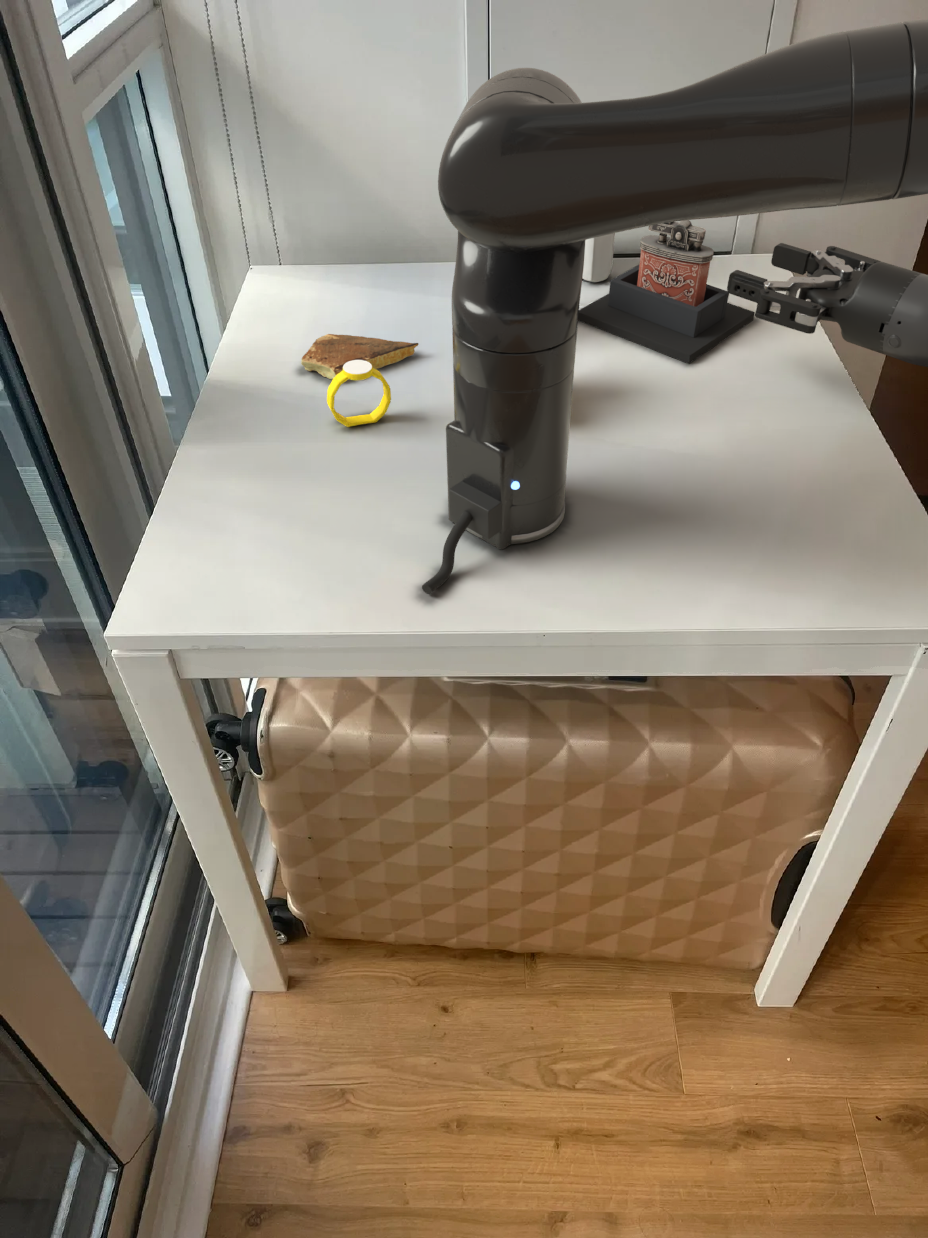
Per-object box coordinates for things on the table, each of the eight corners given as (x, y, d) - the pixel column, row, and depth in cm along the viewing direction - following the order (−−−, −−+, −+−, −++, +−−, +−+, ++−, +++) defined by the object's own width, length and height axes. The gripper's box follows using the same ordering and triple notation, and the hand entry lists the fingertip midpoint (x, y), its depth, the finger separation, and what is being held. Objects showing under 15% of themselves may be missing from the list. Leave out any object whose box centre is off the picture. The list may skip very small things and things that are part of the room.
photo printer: (532, 259, 118) (536, 154, 109) (557, 250, 120) (563, 146, 111) (591, 287, 112) (600, 178, 104) (616, 276, 114) (627, 169, 105)
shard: (419, 355, 101) (418, 340, 100) (397, 391, 96) (396, 376, 94) (324, 344, 103) (322, 328, 102) (298, 379, 98) (295, 363, 97)
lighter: (707, 314, 105) (723, 223, 98) (695, 326, 103) (710, 234, 96) (640, 297, 108) (651, 208, 101) (627, 308, 106) (638, 218, 99)
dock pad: (688, 363, 99) (694, 328, 96) (575, 319, 106) (578, 285, 104) (753, 320, 106) (760, 285, 103) (642, 281, 113) (646, 248, 110)
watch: (335, 435, 90) (328, 380, 86) (327, 421, 92) (320, 365, 88) (395, 422, 92) (390, 367, 87) (386, 408, 93) (382, 353, 89)
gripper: (953, 251, 88) (796, 208, 96) (885, 303, 81) (721, 252, 89) (926, 326, 93) (779, 279, 101) (860, 382, 86) (707, 326, 94)
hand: (752, 266), depth 95 cm, fingers open, 8 cm apart
